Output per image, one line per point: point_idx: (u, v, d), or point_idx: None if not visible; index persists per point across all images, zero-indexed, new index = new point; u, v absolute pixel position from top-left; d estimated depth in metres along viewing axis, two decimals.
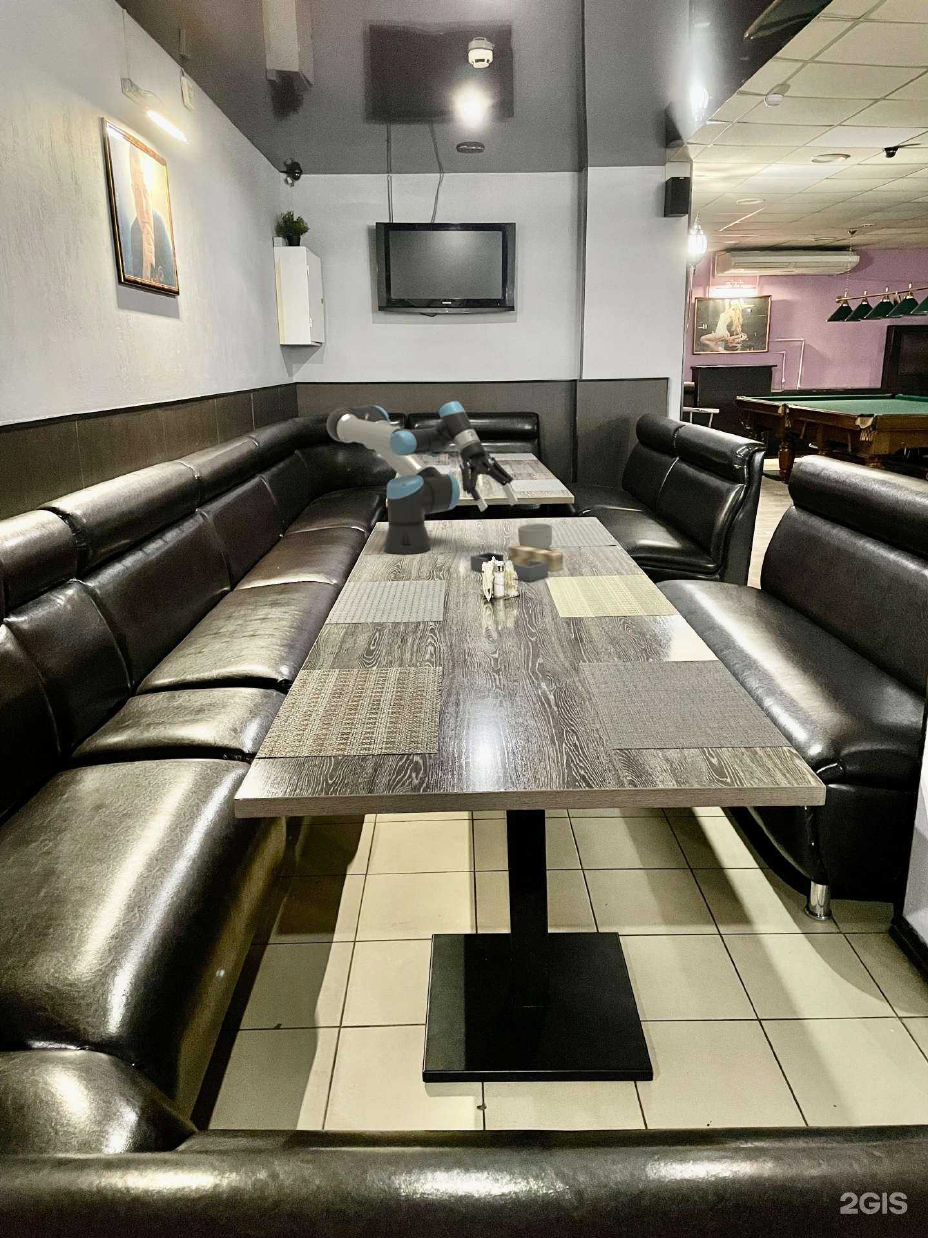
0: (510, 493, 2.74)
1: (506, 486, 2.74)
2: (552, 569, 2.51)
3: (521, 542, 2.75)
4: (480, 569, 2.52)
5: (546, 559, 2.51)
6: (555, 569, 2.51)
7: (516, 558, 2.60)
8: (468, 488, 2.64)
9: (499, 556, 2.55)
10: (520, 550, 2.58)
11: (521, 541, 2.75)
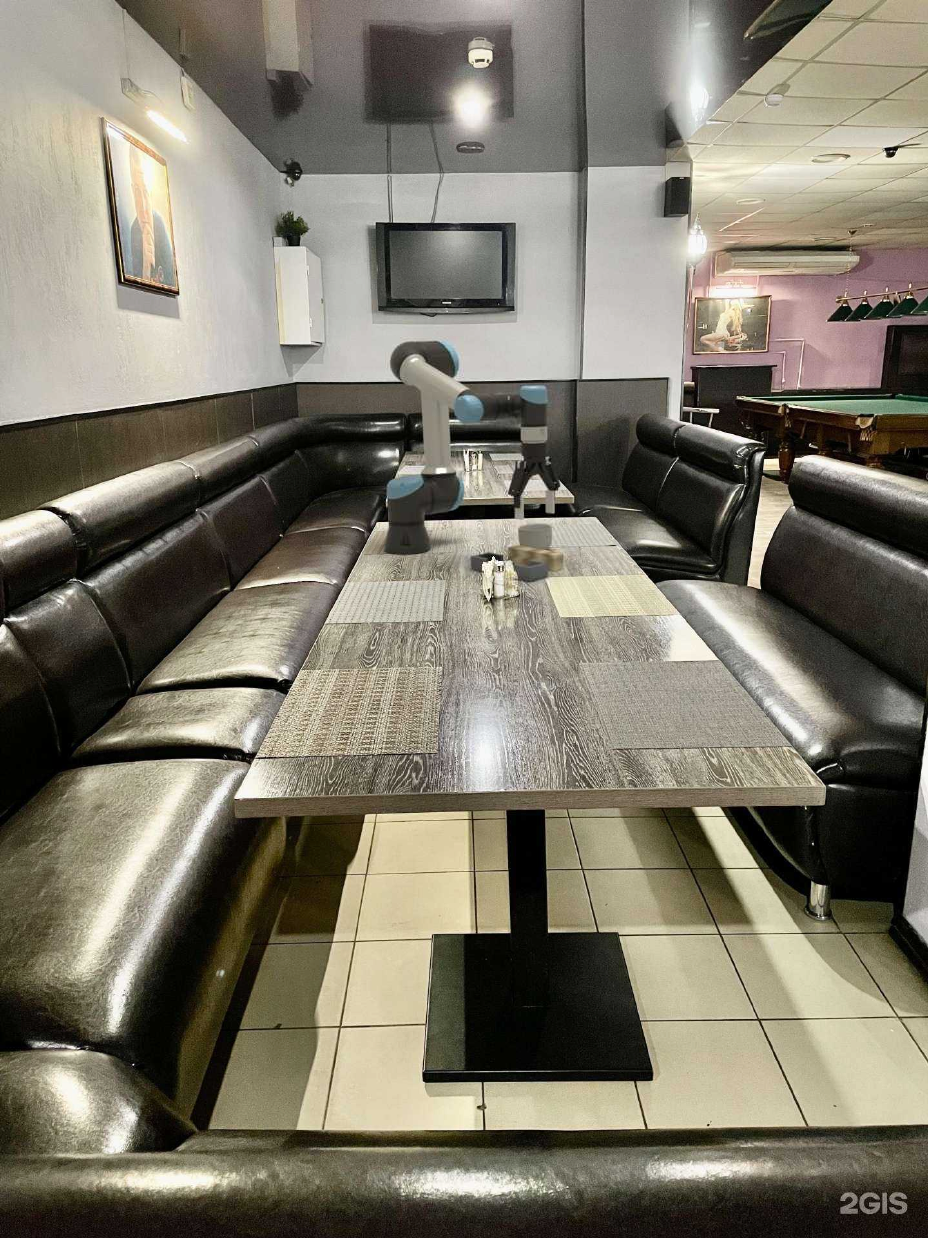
0: (550, 502, 2.57)
1: (550, 493, 2.56)
2: (553, 569, 2.51)
3: (521, 542, 2.75)
4: (480, 569, 2.52)
5: (547, 558, 2.52)
6: (556, 569, 2.51)
7: (516, 558, 2.60)
8: (513, 495, 2.45)
9: (499, 556, 2.55)
10: (520, 550, 2.58)
11: (521, 541, 2.75)
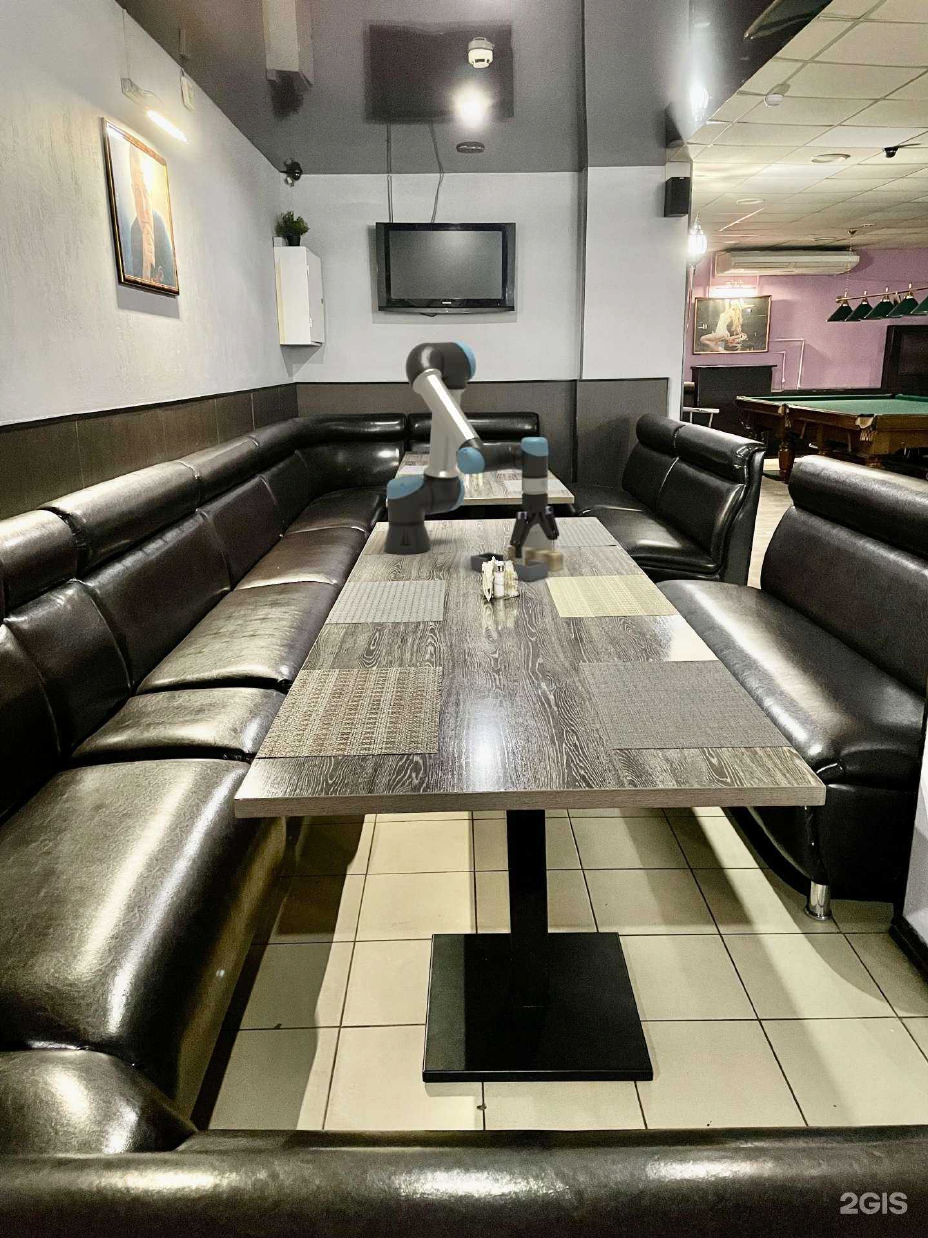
0: None
1: (549, 542, 2.60)
2: (552, 569, 2.51)
3: None
4: (480, 569, 2.52)
5: (547, 558, 2.51)
6: (555, 569, 2.51)
7: None
8: (515, 546, 2.49)
9: (499, 556, 2.55)
10: None
11: None
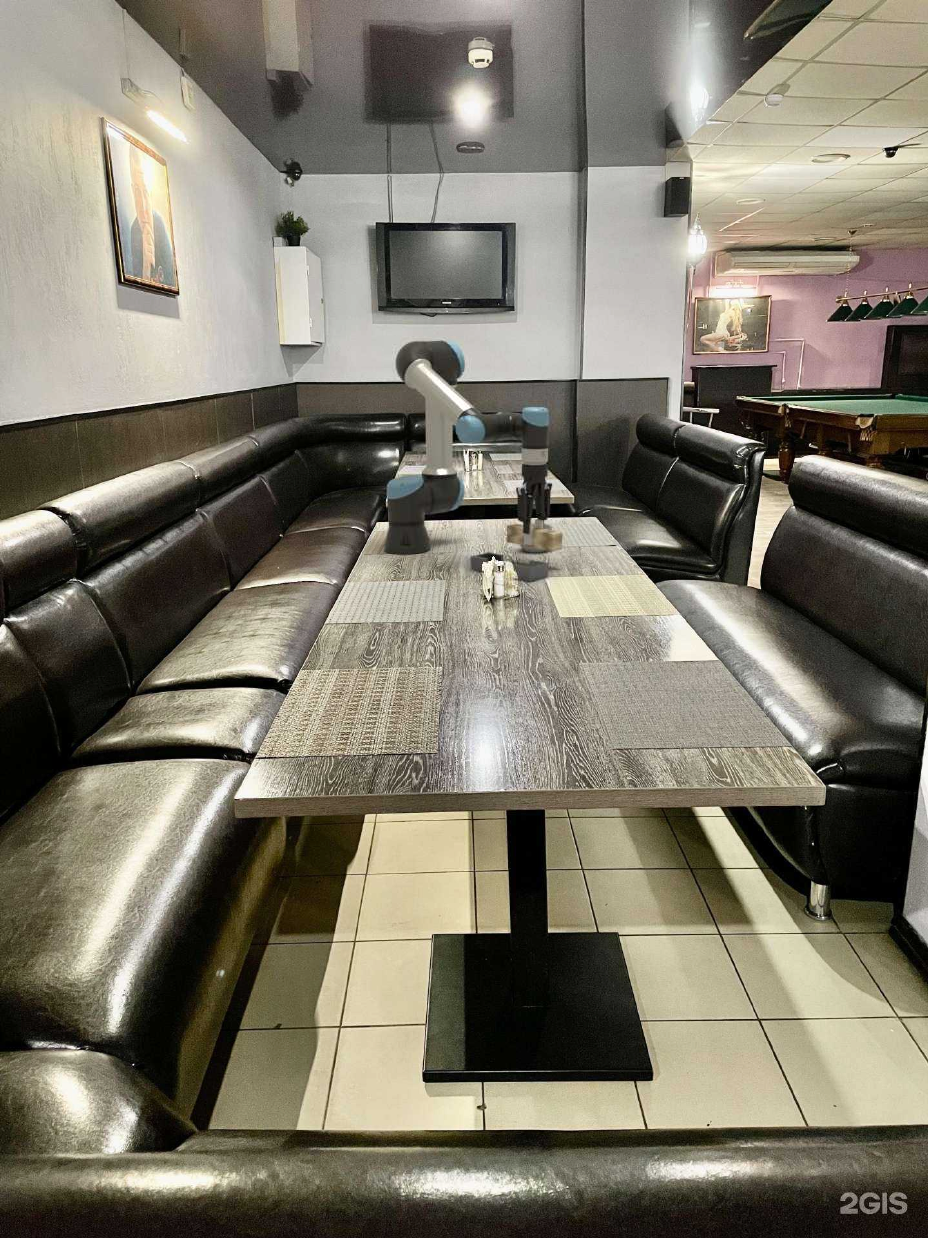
0: None
1: (539, 522, 2.56)
2: (551, 548, 2.49)
3: None
4: (480, 569, 2.52)
5: (546, 537, 2.50)
6: (554, 548, 2.50)
7: (515, 537, 2.59)
8: None
9: (499, 556, 2.55)
10: (519, 529, 2.57)
11: None
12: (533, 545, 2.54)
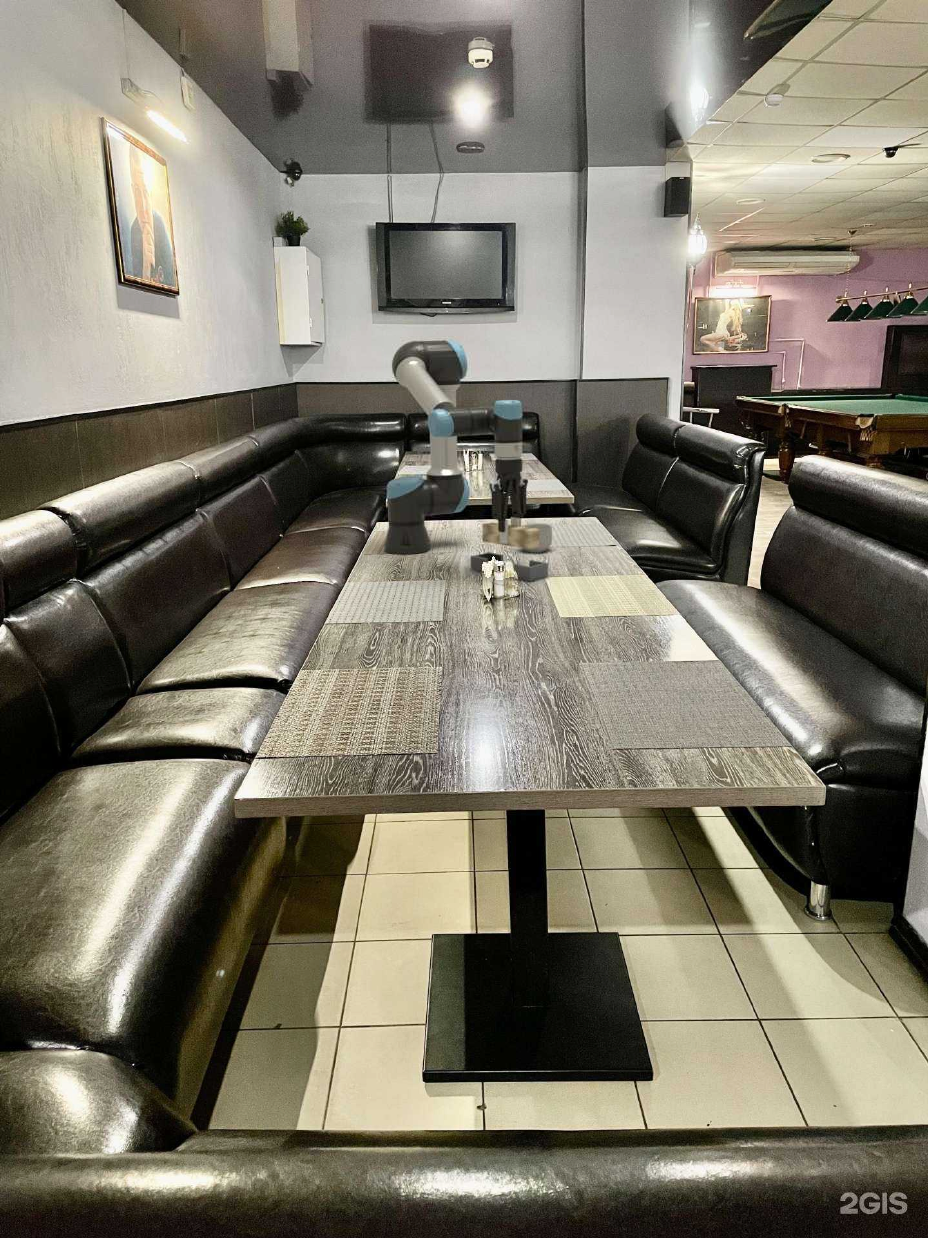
0: None
1: (515, 520, 2.46)
2: (528, 545, 2.39)
3: None
4: (480, 569, 2.52)
5: (522, 535, 2.40)
6: (531, 545, 2.40)
7: (491, 536, 2.49)
8: (499, 518, 2.41)
9: (499, 556, 2.55)
10: (495, 527, 2.47)
11: None
12: (509, 543, 2.44)
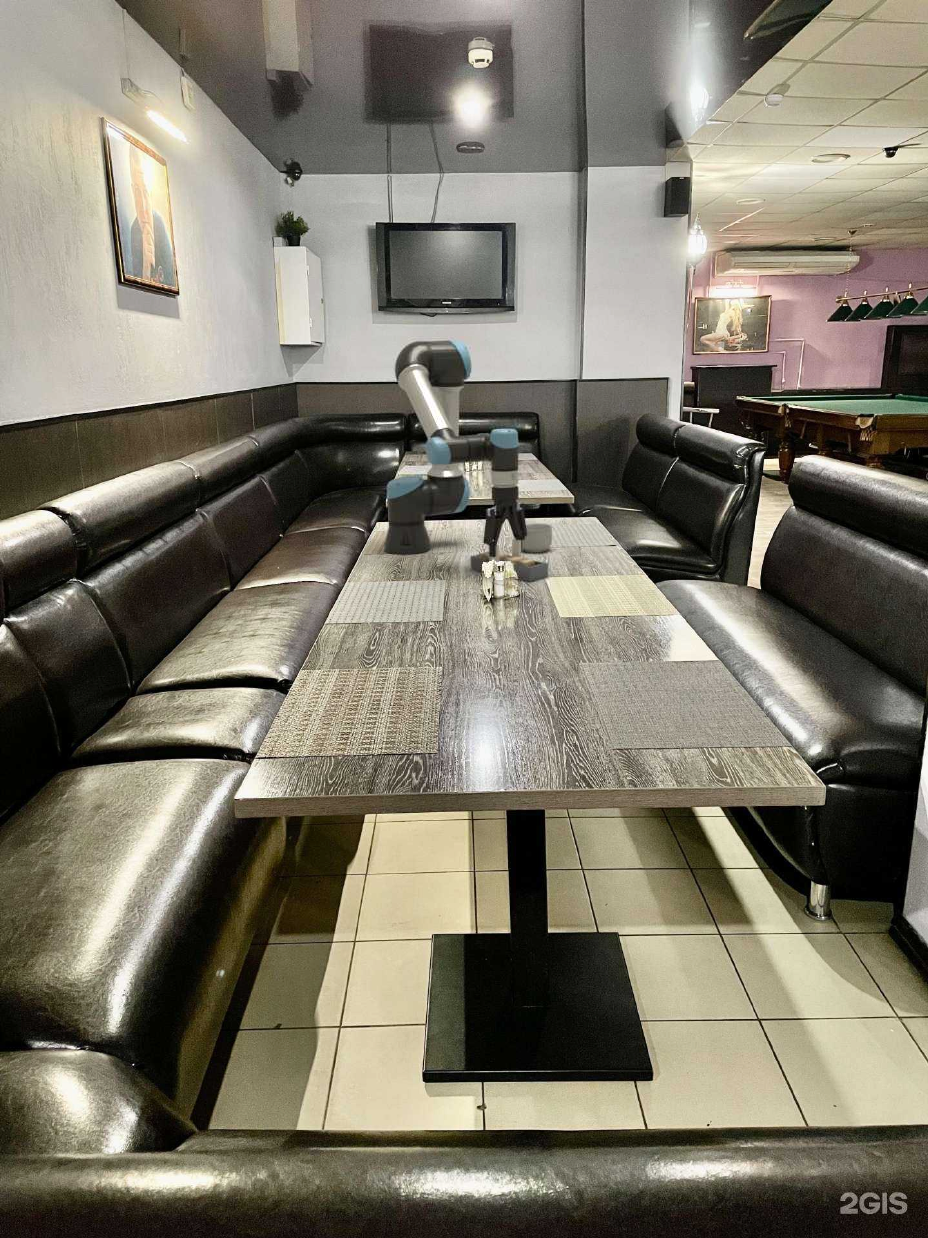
0: (517, 551, 2.51)
1: (516, 542, 2.51)
2: None
3: None
4: (480, 569, 2.52)
5: None
6: None
7: None
8: None
9: None
10: None
11: None
12: None
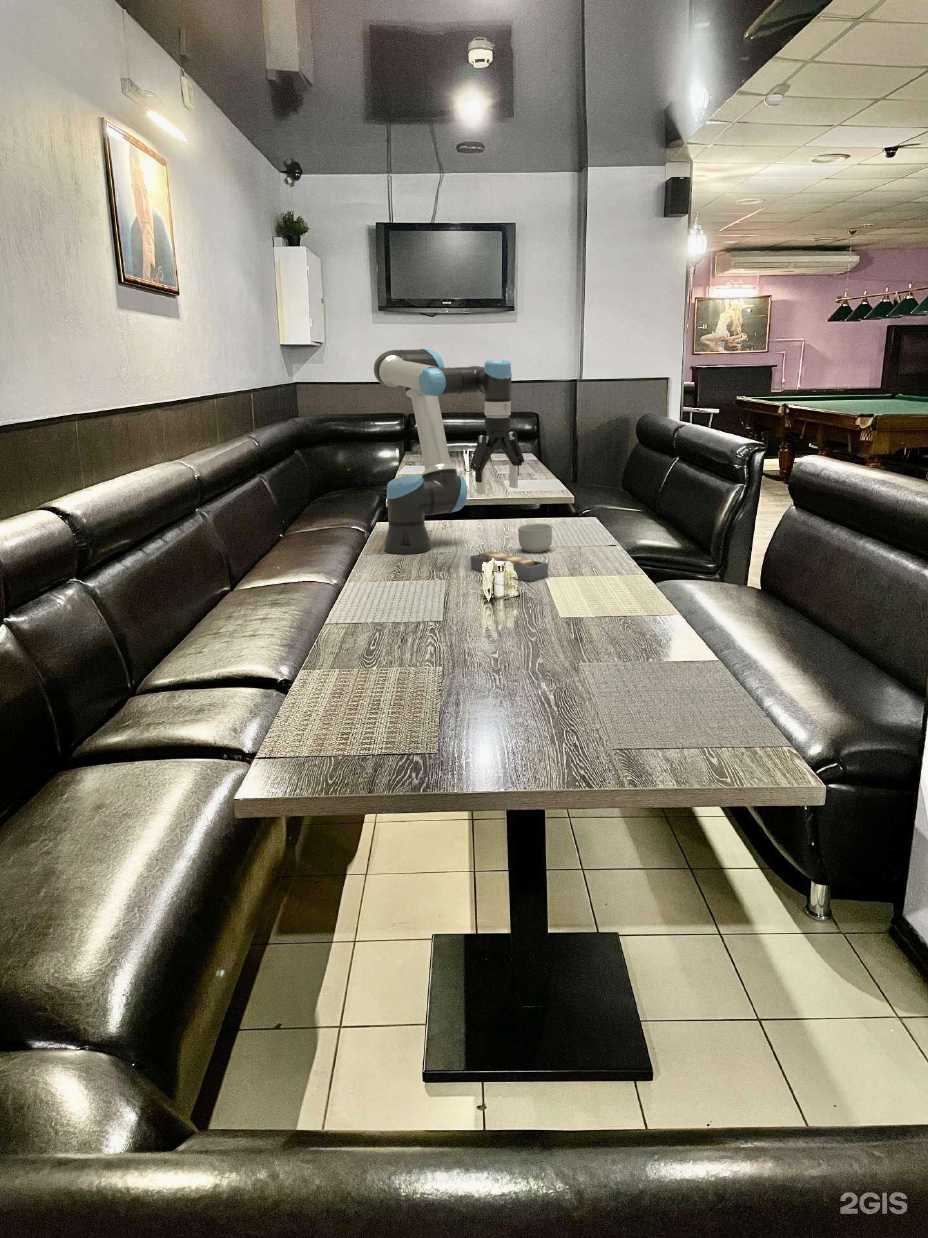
0: (514, 477, 2.59)
1: (513, 468, 2.58)
2: None
3: (521, 542, 2.75)
4: (480, 569, 2.52)
5: None
6: None
7: None
8: (475, 469, 2.47)
9: None
10: (492, 556, 2.51)
11: (521, 541, 2.75)
12: None
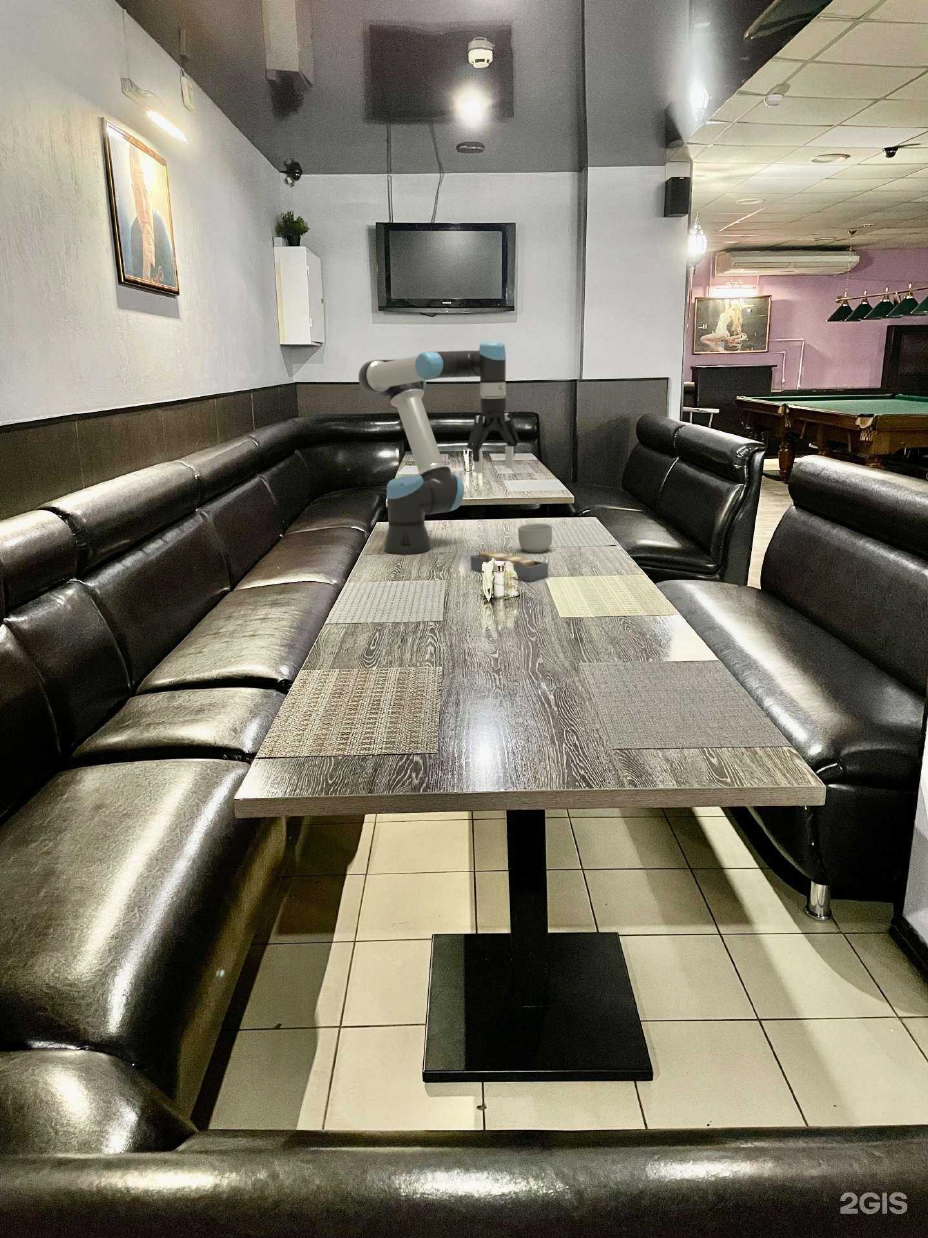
0: (510, 457, 2.66)
1: (509, 448, 2.65)
2: None
3: (521, 542, 2.75)
4: (480, 569, 2.52)
5: None
6: None
7: None
8: (472, 448, 2.54)
9: None
10: (492, 557, 2.51)
11: (521, 541, 2.75)
12: None
